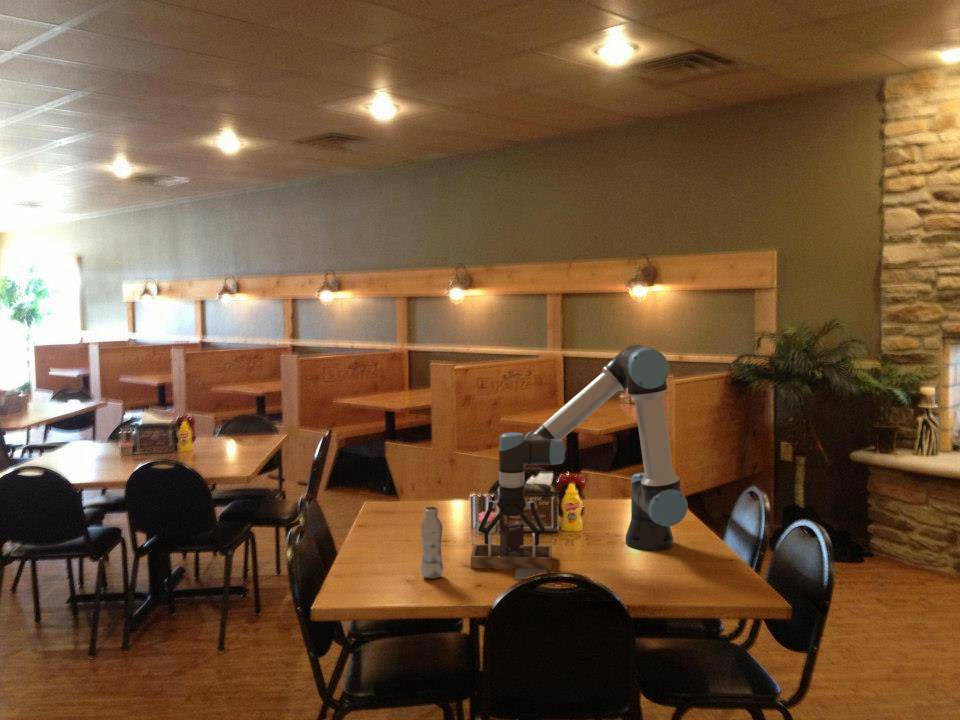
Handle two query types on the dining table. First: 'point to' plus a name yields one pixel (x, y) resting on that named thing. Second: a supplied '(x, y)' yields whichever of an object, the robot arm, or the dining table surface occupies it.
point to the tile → (527, 572)
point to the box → (511, 539)
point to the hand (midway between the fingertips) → (511, 555)
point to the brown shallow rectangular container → (511, 558)
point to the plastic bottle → (431, 544)
